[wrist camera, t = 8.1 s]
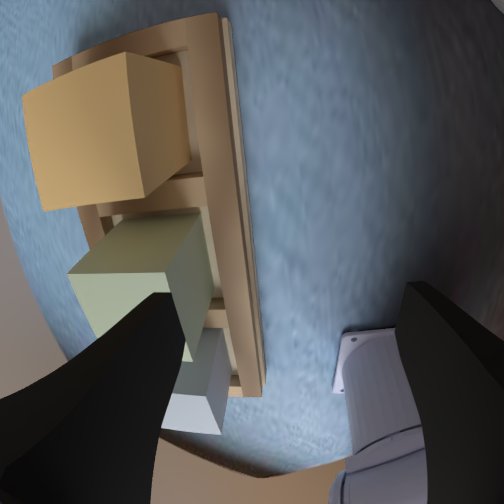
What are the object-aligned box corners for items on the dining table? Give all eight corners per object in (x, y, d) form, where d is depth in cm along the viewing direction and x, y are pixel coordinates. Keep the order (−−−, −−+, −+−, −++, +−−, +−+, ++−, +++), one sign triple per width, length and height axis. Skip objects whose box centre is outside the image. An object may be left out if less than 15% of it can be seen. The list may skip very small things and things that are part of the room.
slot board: (231, 24, 12) (222, 10, 10) (266, 371, 24) (264, 397, 22) (75, 67, 13) (49, 67, 11) (158, 367, 25) (150, 389, 23)
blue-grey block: (221, 323, 20) (205, 396, 14) (232, 369, 22) (221, 434, 17) (155, 322, 20) (125, 387, 15) (172, 366, 23) (153, 426, 17)
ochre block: (191, 160, 14) (144, 197, 9) (110, 171, 15) (43, 211, 10) (181, 66, 12) (125, 51, 7) (97, 88, 13) (22, 95, 7)
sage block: (201, 212, 16) (164, 272, 11) (214, 288, 18) (192, 361, 13) (122, 219, 16) (66, 273, 11) (143, 288, 19) (105, 353, 14)
